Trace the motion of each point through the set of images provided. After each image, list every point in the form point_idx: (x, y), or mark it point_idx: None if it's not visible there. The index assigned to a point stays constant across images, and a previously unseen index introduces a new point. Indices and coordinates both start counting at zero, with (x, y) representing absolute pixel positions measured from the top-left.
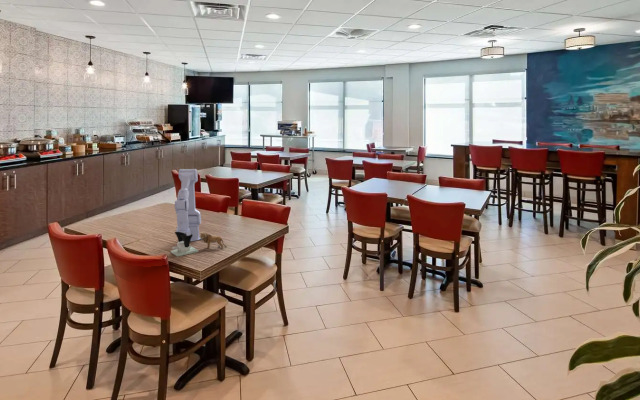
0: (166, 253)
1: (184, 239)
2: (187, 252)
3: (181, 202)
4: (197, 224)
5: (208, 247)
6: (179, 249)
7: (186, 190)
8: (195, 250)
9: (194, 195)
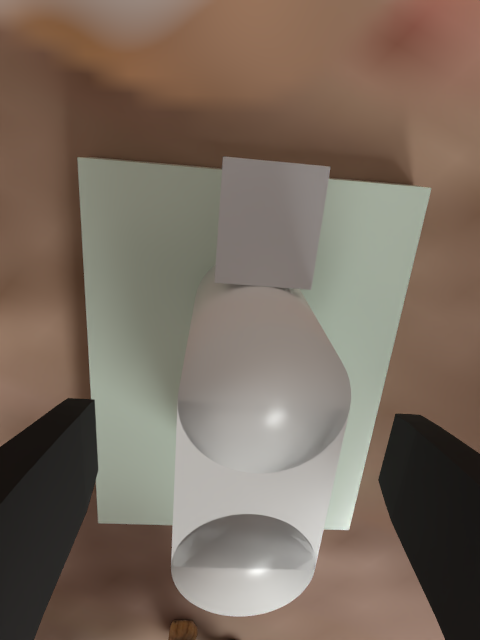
0: (433, 87)
1: None
2: (91, 366)
3: None
4: None
5: (172, 638)
6: (202, 291)
7: None
8: (112, 491)
9: None
